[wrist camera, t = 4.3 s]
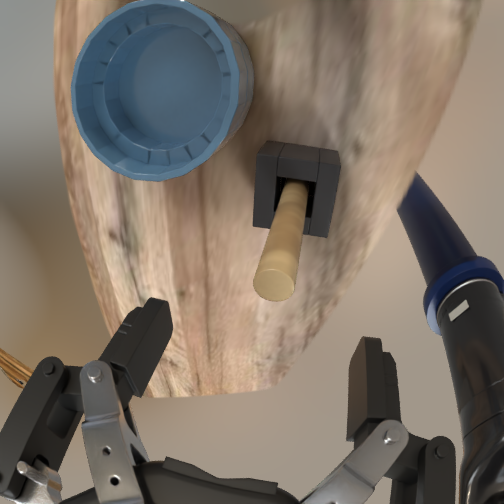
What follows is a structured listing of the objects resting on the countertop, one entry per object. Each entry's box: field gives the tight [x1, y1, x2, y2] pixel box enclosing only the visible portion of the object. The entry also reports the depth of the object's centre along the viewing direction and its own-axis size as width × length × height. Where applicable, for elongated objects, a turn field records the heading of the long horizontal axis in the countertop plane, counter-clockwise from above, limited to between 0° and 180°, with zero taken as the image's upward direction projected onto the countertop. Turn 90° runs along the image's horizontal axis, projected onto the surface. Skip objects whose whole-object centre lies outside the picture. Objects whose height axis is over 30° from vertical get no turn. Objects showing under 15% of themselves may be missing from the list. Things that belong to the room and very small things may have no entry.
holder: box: [253, 141, 341, 238], centre depth 25 cm, size 6×6×4 cm
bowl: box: [71, 0, 254, 182], centre depth 21 cm, size 15×15×6 cm
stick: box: [253, 178, 309, 302], centre depth 20 cm, size 2×2×15 cm
